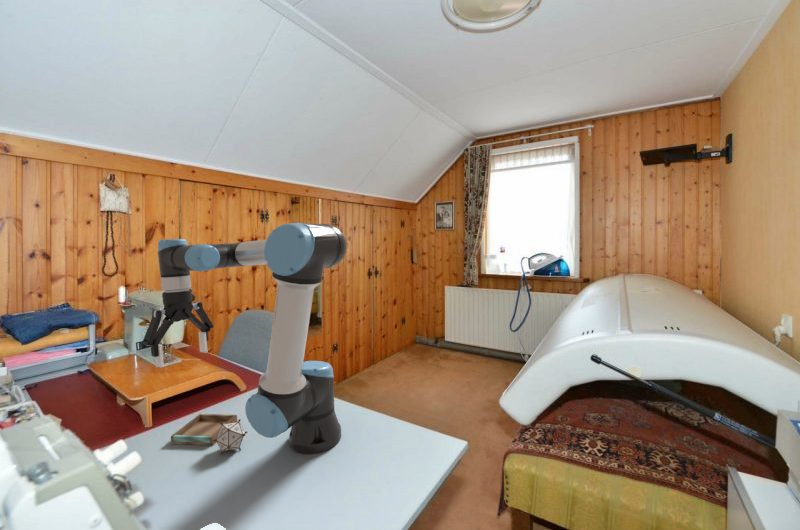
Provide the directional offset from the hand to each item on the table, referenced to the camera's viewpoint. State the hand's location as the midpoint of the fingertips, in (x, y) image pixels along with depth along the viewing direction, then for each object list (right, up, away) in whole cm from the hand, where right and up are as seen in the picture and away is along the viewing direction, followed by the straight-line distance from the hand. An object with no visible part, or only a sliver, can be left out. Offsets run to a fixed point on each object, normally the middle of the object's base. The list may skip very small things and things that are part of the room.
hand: (183, 359), depth 107 cm
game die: (+18, -24, -7) cm, 31 cm away
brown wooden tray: (+6, -24, +2) cm, 24 cm away
